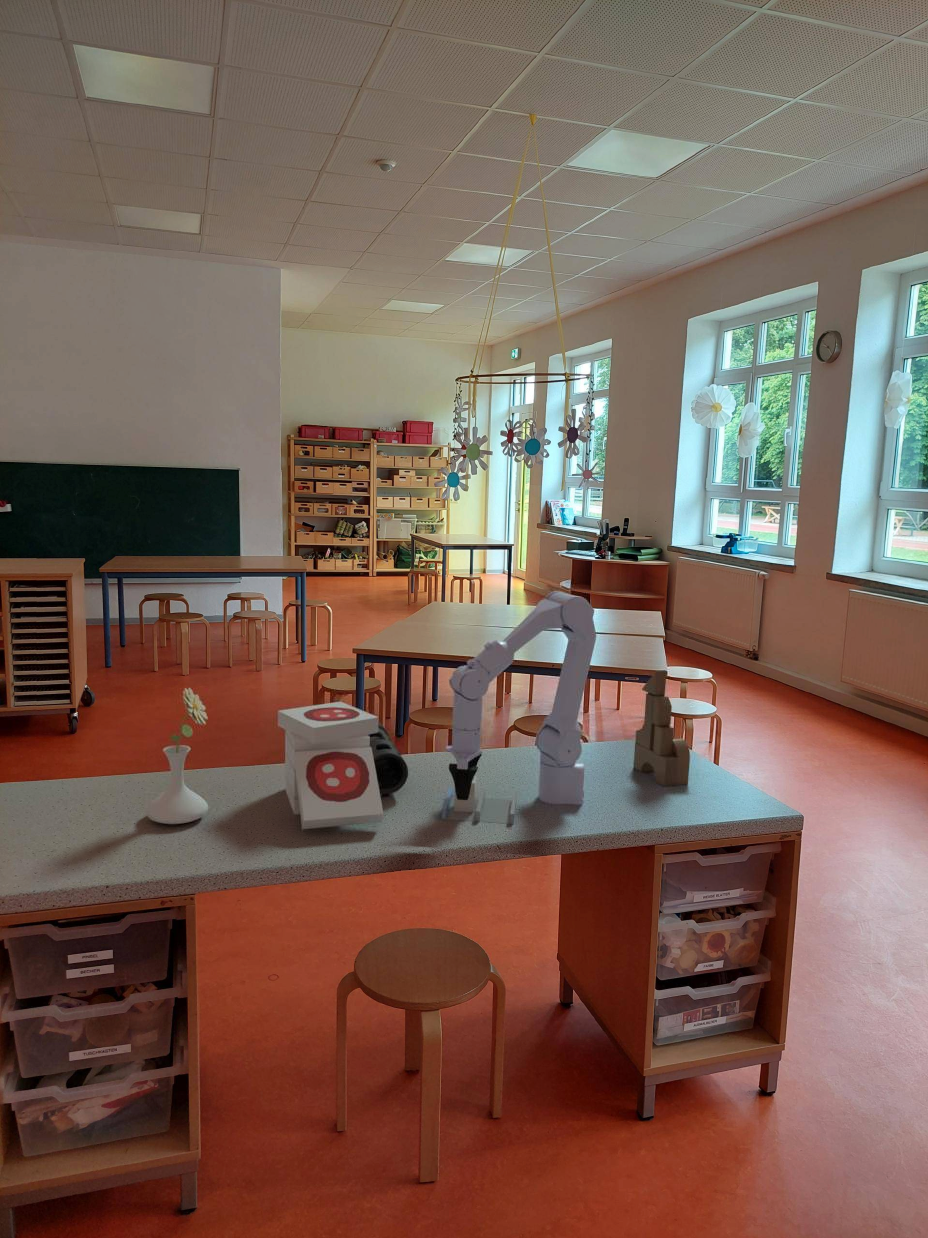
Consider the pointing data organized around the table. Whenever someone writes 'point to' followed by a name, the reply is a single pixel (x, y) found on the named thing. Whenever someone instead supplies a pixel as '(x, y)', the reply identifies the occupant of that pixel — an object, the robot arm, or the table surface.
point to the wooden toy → (660, 738)
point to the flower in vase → (180, 775)
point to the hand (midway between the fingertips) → (464, 792)
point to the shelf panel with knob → (482, 809)
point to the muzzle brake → (387, 763)
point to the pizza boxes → (331, 765)
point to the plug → (467, 804)
